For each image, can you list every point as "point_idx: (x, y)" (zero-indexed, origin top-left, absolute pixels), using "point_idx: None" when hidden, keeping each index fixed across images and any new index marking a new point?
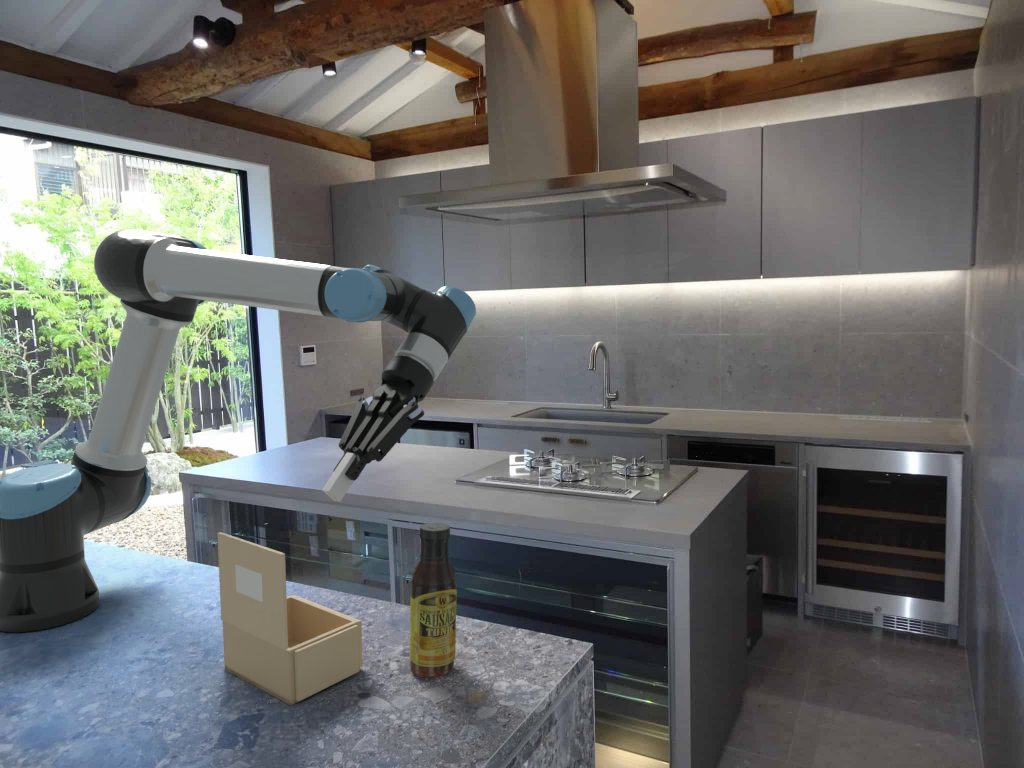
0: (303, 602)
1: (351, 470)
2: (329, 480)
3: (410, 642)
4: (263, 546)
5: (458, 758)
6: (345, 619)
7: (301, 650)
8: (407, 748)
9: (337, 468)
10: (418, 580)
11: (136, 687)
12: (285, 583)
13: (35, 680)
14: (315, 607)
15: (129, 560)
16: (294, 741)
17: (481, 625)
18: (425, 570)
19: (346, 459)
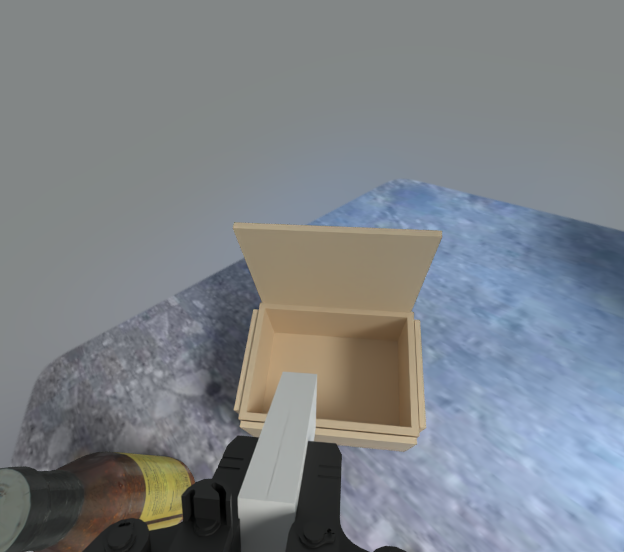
0: (374, 424)
1: (234, 451)
2: (306, 394)
3: (169, 462)
4: (295, 230)
5: (65, 354)
6: (263, 414)
7: (252, 316)
8: (118, 340)
9: (298, 429)
10: (98, 459)
11: (438, 268)
12: (244, 256)
13: (532, 225)
14: (340, 421)
15: None
16: (222, 294)
17: None
18: (71, 465)
19: (271, 466)
